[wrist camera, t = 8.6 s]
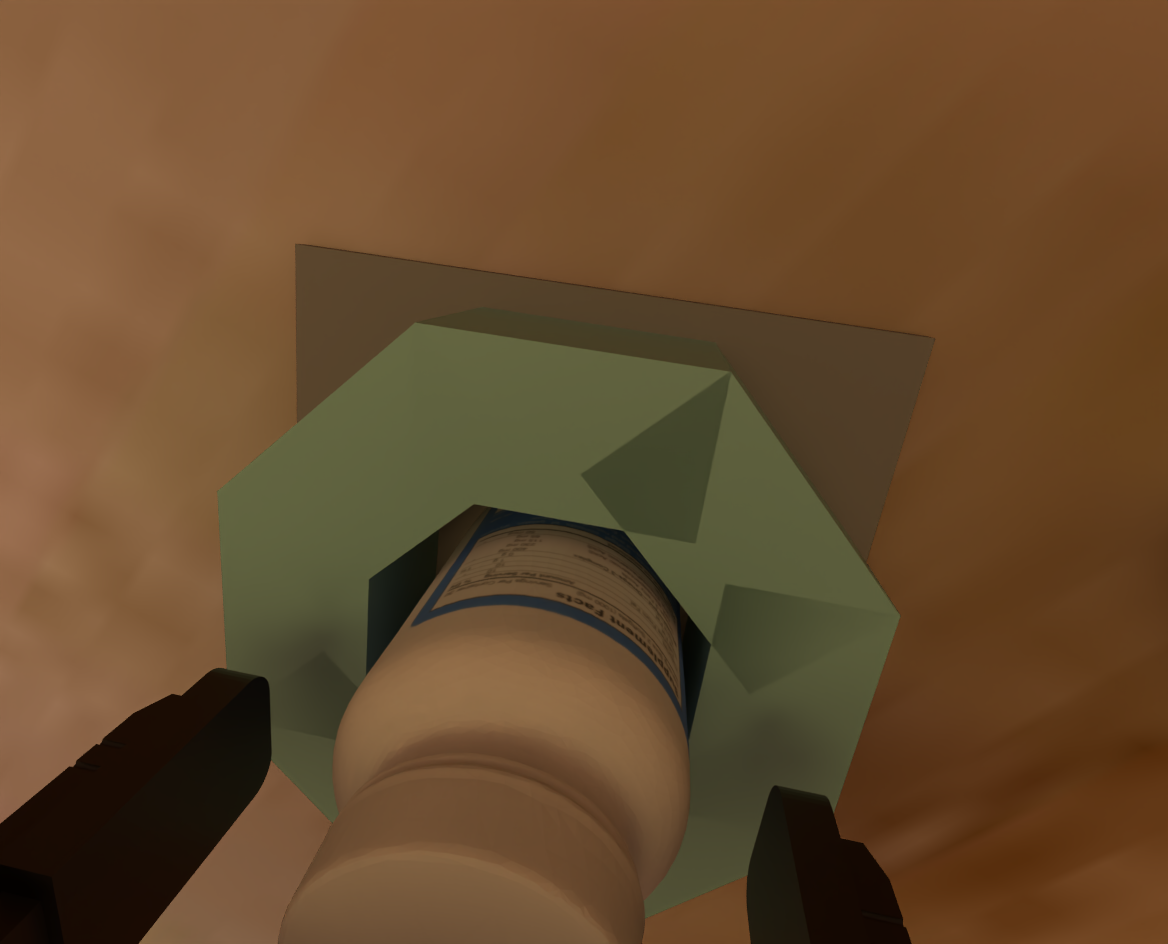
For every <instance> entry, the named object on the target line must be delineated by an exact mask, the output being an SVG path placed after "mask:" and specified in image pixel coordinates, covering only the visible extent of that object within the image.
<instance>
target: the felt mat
mask: <svg viewBox="0 0 1168 944" xmlns="http://www.w3.org/2000/svg"><path fill="white" fill-rule="evenodd" d="M295 260H296V360H297V423H298V422H299V421H300V420H302V419H303V418H304V417H305V416H306V415H307V414H309V413H310V412H311V411H312V410H313V409H314V408H316V407H317V406H318V405H319V404H320V403H322V402H323V401H324V400H325V399H326V398H327V397H329V396H330V395H331V394H332V393H333V392H334V391H336V390H337V389H338V388H339V387H340V386H341V385H343V384H344V383H345V382H346V381H347V380H348V379H350V378H351V377H352V376H353V375H354V374H356V373H357V372H358V371H359V370H360V369H361V368H363V367H364V366H365V365H366V364H367V363H368V362H370V361H371V360H372V359H373V358H374V357H375V356H377V355H378V354H379V353H380V352H381V351H382V350H384V349H385V348H386V347H387V346H388V345H390V344H391V343H392V342H393V341H394V340H395V339H397V338H398V337H399V336H400V335H401V334H402V333H404V332H405V331H406V330H407V329H408V328H409V327H411V326H412V325H413V324H414V323H415V322H419V321H423V320H428V319H432V318H436V317H441V316H445V315H450V314H454V313H458V312H463V311H467V310H471V309H476V308H480V307H486V308H492V309H499V310H505V311H512V312H518V313H525V314H531V315H538V316H545V317H551V318H558V319H564V320H571V321H577V322H584V323H591V324H597V325H604V326H610V327H617V328H623V329H630V330H636V331H643V332H650V333H656V334H663V335H669V336H676V337H682V338H689V339H695V340H702V341H709V342H715V343H716V344H717V346H718V347H719V349H720V350H721V352H722V353H723V355H724V356H725V357H726V359H727V360H728V362H729V363H730V365H731V366H732V368H733V369H734V370H735V372H736V373H737V375H738V376H739V378H740V379H741V381H742V382H743V383H744V385H745V386H746V388H747V389H748V391H749V392H750V394H751V395H752V396H753V398H754V399H755V401H756V402H757V404H758V405H759V407H760V408H761V409H762V411H763V412H764V414H765V415H766V417H767V418H768V420H769V421H770V422H771V424H772V425H773V427H774V428H775V430H776V431H777V433H778V434H779V435H780V437H781V438H782V440H783V441H784V443H785V444H786V446H787V447H788V448H789V450H790V451H791V453H792V454H793V456H794V457H795V459H796V460H797V461H798V463H799V464H800V466H801V467H802V469H803V470H804V472H805V473H806V474H807V476H808V477H809V479H810V480H811V482H812V483H813V485H814V486H815V487H816V489H817V490H818V492H819V493H820V495H821V496H822V498H823V499H824V500H825V502H826V503H827V505H828V506H829V508H830V509H831V511H832V512H833V513H834V515H835V516H836V518H837V519H838V521H839V522H840V524H841V525H842V526H843V527H844V529H845V531H846V532H847V534H848V535H849V537H850V538H851V540H852V541H853V543H854V544H855V546H856V548H857V549H858V551H859V552H860V554H861V555H862V557H863V558H864V560H865V561H867V558H868V555H869V551H870V548H871V545H872V542H873V538H874V535H875V532H876V529H877V526H878V522H879V519H880V516H881V513H882V509H883V506H884V503H885V500H886V496H887V493H888V490H889V487H890V484H891V480H892V477H893V474H894V471H895V467H896V464H897V461H898V458H899V454H900V451H901V448H902V445H903V441H904V438H905V435H906V432H907V429H908V425H909V422H910V419H911V416H912V412H913V409H914V406H915V403H916V399H917V396H918V393H919V390H920V386H921V383H922V380H923V377H924V374H925V370H926V367H927V364H928V361H929V357H930V354H931V351H932V348H933V344H934V341H935V338H931V337H928V336H921V335H914V334H907V333H901V332H894V331H887V330H880V329H873V328H867V327H860V326H853V325H846V324H840V323H833V322H826V321H819V320H813V319H806V318H799V317H792V316H785V315H779V314H772V313H765V312H758V311H752V310H745V309H738V308H731V307H725V306H718V305H711V304H704V303H697V302H691V301H684V300H677V299H670V298H664V297H657V296H650V295H643V294H637V293H630V292H623V291H616V290H609V289H603V288H596V287H589V286H582V285H576V284H569V283H562V282H555V281H548V280H542V279H535V278H528V277H521V276H515V275H508V274H501V273H494V272H488V271H481V270H474V269H467V268H460V267H454V266H447V265H440V264H433V263H427V262H420V261H413V260H406V259H400V258H393V257H386V256H379V255H372V254H366V253H359V252H352V251H345V250H339V249H332V248H325V247H318V246H312V245H304V244H295ZM487 508H488V507H487V506H482V505H476V504H473V505H472V506H471V507H469V508H468V509H466V510H465V511H464V512H462V513H461V514H459V515H458V516H457V517H455V518H454V519H452V520H451V521H450V522H448V523H447V524H445V525H444V526H443V527H441V528H440V529H439V537H438V551H437V566H436V576H437V575H438V574H439V572H440V571H441V569H442V567H443V566H444V565H445V564H446V562H447V561H448V559H449V558H450V556H451V555H452V553H453V552H454V550H455V549H456V547H457V546H458V545H459V543H460V541H461V540H462V539H463V538H464V536H465V535H466V533H467V532H468V531H469V529H470V528H471V527H472V525H473V524H474V523H475V521H476V520H477V519H478V517H479V516H480V515H481V514H482V513H483V512H484V511H485V510H486V509H487ZM687 618H688V614H687V612H686V611H685V610H684V608H683V607H682V606H681V605H680V621H681V640H682V641H683V636H684V632H685V627H686V622H687Z"/></svg>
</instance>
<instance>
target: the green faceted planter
mask: <svg viewBox="0 0 1168 944" xmlns="http://www.w3.org/2000/svg"><path fill="white" fill-rule="evenodd" d="M217 494H218V513H219V532H220V550H221V569H222V588H223V606H224V625H225V644H226V662H227V669H228V670H233V671H238V672H243V673H247V674H252V675H257V676H262V677H265V678H266V679H267V681H268V683H269V688H270V714H271V744H272V755H271V760H272V761H273V762H274V763H275V764H276V765H277V766H278V768H279V769H280V770H281V771H282V772H283V773H284V774H285V775H286V776H287V777H288V778H289V779H290V780H291V781H292V782H293V783H294V784H295V785H296V786H297V787H298V788H299V789H300V790H301V791H302V792H303V793H304V794H305V795H306V796H307V797H308V799H309V800H310V801H311V802H312V803H313V804H314V805H315V806H316V807H317V808H318V809H319V810H320V811H321V812H322V813H323V814H324V815H325V816H326V817H327V818H328V819H329V820H330V821H331V822H332V823H333V822H334V821H335V819H336V818H337V816H338V815H339V812H338V808H337V804H336V800H335V795H334V787H333V780H332V766H333V751H334V745H335V741H336V737H337V732H338V728H339V725H340V722H341V719H342V717H343V715H344V713H345V711H346V708H347V706H348V704H349V702H350V701H351V699H352V697H353V695H354V693H355V692H356V690H357V689H358V687H359V686H360V684H361V683H362V681H363V680H364V678H365V677H366V675H367V674H368V673H369V671H370V670H371V669H372V667H373V666H374V664H375V663H376V662H377V660H378V659H379V658H380V656H381V655H382V653H383V652H384V651H385V649H386V648H387V646H388V645H389V644H390V642H391V641H392V640H393V638H394V637H395V635H396V634H397V633H398V631H399V630H400V628H401V627H402V625H403V624H404V623H405V621H406V620H407V618H408V617H409V615H410V614H411V612H412V611H413V609H414V608H415V606H416V605H417V603H418V602H419V601H420V599H421V598H422V596H423V595H424V594H425V592H426V591H427V589H428V588H429V586H430V585H431V584H432V582H433V581H434V579H435V578H436V566H437V551H438V537H439V529H440V528H441V527H443V526H444V525H445V524H447V523H448V522H450V521H451V520H452V519H454V518H455V517H457V516H458V515H459V514H461V513H462V512H464V511H465V510H466V509H468V508H469V507H471V506H472V505H473V504H476V505H482V506H487V507H493V508H499V509H504V510H510V511H515V512H521V513H527V514H532V515H538V516H544V517H549V518H555V519H560V520H566V521H572V522H577V523H583V524H588V525H594V526H600V527H605V528H611V529H616V530H622V531H624V532H625V533H626V534H627V536H628V537H629V538H630V540H631V541H632V542H633V543H634V545H635V546H636V547H637V549H638V550H639V551H640V553H641V554H642V555H643V556H644V558H645V559H646V560H647V562H648V563H649V564H650V566H651V567H652V568H653V569H654V571H655V572H656V573H657V575H658V576H659V577H660V579H661V580H662V581H663V582H664V584H665V585H666V586H667V588H668V589H669V590H670V592H671V593H672V594H673V595H674V597H675V598H676V599H677V601H678V602H679V603H680V605H681V606H682V607H683V608H684V610H685V611H686V612H687V614H688V618H687V622H686V627H685V632H684V636H683V641H682V654H683V669H684V682H685V697H686V712H687V728H688V741H689V759H690V809H689V815H688V821H687V827H686V831H685V834H684V837H683V840H682V844H681V847H680V849H679V852H678V854H677V856H676V858H675V860H674V862H673V864H672V865H671V867H670V869H669V871H668V872H667V874H666V876H665V877H664V878H663V880H662V881H661V882H660V883H659V885H658V886H657V887H656V888H655V889H654V891H653V892H652V893H651V894H650V895H649V896H648V897H647V898H646V899H645V900H644V901H643V902H644V907H645V918H648V917H650V916H652V915H655V914H657V913H659V912H662V911H664V910H667V909H669V908H671V907H674V906H676V905H678V904H681V903H683V902H685V901H688V900H690V899H693V898H695V897H697V896H700V895H702V894H704V893H707V892H709V891H712V890H714V889H716V888H719V887H721V886H723V885H726V884H728V883H730V882H733V881H735V880H738V879H740V878H742V877H745V876H747V875H748V868H749V863H750V858H751V855H752V851H753V848H754V844H755V841H756V838H757V834H758V831H759V827H760V824H761V820H762V817H763V813H764V810H765V806H766V803H767V800H768V796H769V793H770V791H771V789H772V787H773V786H774V785H777V786H782V787H787V788H792V789H796V790H801V791H806V792H811V793H816V794H820V795H825V796H826V797H827V798H828V799H829V801H830V804H831V807H832V810H833V813H834V811H835V808H836V805H837V802H838V799H839V796H840V793H841V790H842V787H843V784H844V781H845V778H846V775H847V772H848V769H849V766H850V763H851V761H852V758H853V755H854V752H855V749H856V746H857V743H858V740H859V737H860V734H861V731H862V728H863V725H864V722H865V719H866V716H867V713H868V710H869V707H870V704H871V701H872V699H873V696H874V693H875V690H876V687H877V684H878V681H879V678H880V675H881V672H882V669H883V666H884V663H885V660H886V657H887V654H888V651H889V648H890V645H891V642H892V639H893V637H894V634H895V631H896V628H897V625H898V622H899V619H900V617H901V615H900V614H899V612H898V611H897V609H896V608H895V606H894V605H893V603H892V602H891V600H890V598H889V597H888V595H887V594H886V592H885V591H884V589H883V588H882V586H881V585H880V583H879V582H878V580H877V578H876V577H875V575H874V574H873V572H872V571H871V569H870V568H869V566H868V565H867V563H866V561H865V560H864V558H863V557H862V555H861V554H860V552H859V551H858V549H857V548H856V546H855V544H854V543H853V541H852V540H851V538H850V537H849V535H848V534H847V532H846V531H845V529H844V527H843V526H842V525H841V524H840V522H839V521H838V519H837V518H836V516H835V515H834V513H833V512H832V511H831V509H830V508H829V506H828V505H827V503H826V502H825V500H824V499H823V498H822V496H821V495H820V493H819V492H818V490H817V489H816V487H815V486H814V485H813V483H812V482H811V480H810V479H809V477H808V476H807V474H806V473H805V472H804V470H803V469H802V467H801V466H800V464H799V463H798V461H797V460H796V459H795V457H794V456H793V454H792V453H791V451H790V450H789V448H788V447H787V446H786V444H785V443H784V441H783V440H782V438H781V437H780V435H779V434H778V433H777V431H776V430H775V428H774V427H773V425H772V424H771V422H770V421H769V420H768V418H767V417H766V415H765V414H764V412H763V411H762V409H761V408H760V407H759V405H758V404H757V402H756V401H755V399H754V398H753V396H752V395H751V394H750V392H749V391H748V389H747V388H746V386H745V385H744V383H743V382H742V381H741V379H740V378H739V376H738V375H737V373H736V372H735V370H734V369H733V368H732V366H731V365H730V363H729V362H728V360H727V359H726V357H725V356H724V355H723V353H722V352H721V350H720V349H719V347H718V346H717V344H716V343H715V342H709V341H702V340H695V339H689V338H682V337H676V336H669V335H663V334H656V333H650V332H643V331H636V330H630V329H623V328H617V327H610V326H604V325H597V324H591V323H584V322H577V321H571V320H564V319H558V318H551V317H545V316H538V315H531V314H525V313H518V312H512V311H505V310H499V309H492V308H486V307H480V308H476V309H471V310H467V311H463V312H458V313H454V314H450V315H445V316H441V317H436V318H432V319H428V320H423V321H419V322H415V323H414V324H413V325H412V326H411V327H409V328H408V329H407V330H406V331H405V332H404V333H402V334H401V335H400V336H399V337H398V338H397V339H395V340H394V341H393V342H392V343H391V344H390V345H388V346H387V347H386V348H385V349H384V350H382V351H381V352H380V353H379V354H378V355H377V356H375V357H374V358H373V359H372V360H371V361H370V362H368V363H367V364H366V365H365V366H364V367H363V368H361V369H360V370H359V371H358V372H357V373H356V374H354V375H353V376H352V377H351V378H350V379H348V380H347V381H346V382H345V383H344V384H343V385H341V386H340V387H339V388H338V389H337V390H336V391H334V392H333V393H332V394H331V395H330V396H329V397H327V398H326V399H325V400H324V401H323V402H322V403H320V404H319V405H318V406H317V407H316V408H314V409H313V410H312V411H311V412H310V413H309V414H307V415H306V416H305V417H304V418H303V419H302V420H300V421H299V422H298V423H297V424H296V425H295V426H293V427H292V428H291V429H290V430H289V431H288V432H286V433H285V434H284V435H283V436H282V437H281V438H279V439H278V440H277V441H276V442H275V443H273V444H272V445H271V446H270V447H269V448H268V449H266V450H265V451H264V452H263V453H262V454H261V455H259V456H258V457H257V458H256V459H255V460H254V461H252V462H251V463H250V464H249V465H248V466H247V467H245V468H244V469H243V470H242V471H241V472H239V473H238V474H237V475H236V476H235V477H234V478H232V479H231V480H230V481H229V482H228V483H227V484H225V485H224V486H223V487H222V488H221V489H220V490H218V491H217Z"/></svg>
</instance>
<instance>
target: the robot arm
mask: <svg viewBox="0 0 1168 944" xmlns="http://www.w3.org/2000/svg"><path fill="white" fill-rule="evenodd" d="M271 755H272V744H271V714H270V688H269V683H268V681H267V679H266V678H265V677H262V676H257V675H252V674H247V673H243V672H238V671H233V670H228V669H223V668H216V669H213V670H211V671H210V672H208V673H207V674H206V675H205V676H204V677H202V678H201V679H200V680H199V681H198V682H197V683H196V684H194V685H193V686H192V687H191V688H190V689H189V690H188V691H186V692H185V693H184V694H183V695H182V696H180V695H175V694H171V695H169V696H167V697H165V698H163V699H161V700H159V701H157V702H155V703H153V704H151V705H149V706H147V707H145V708H143V709H141V710H139V711H137V712H135V713H133V714H132V715H131V716H130V717H128V718H127V719H126V720H125V721H124V722H122V723H121V724H120V725H119V726H118V727H116V728H115V729H114V730H113V731H112V732H110V733H109V734H108V735H107V736H106V737H104V738H103V740H102V743H101V744H100V745H98V744H96V745H95V746H93V747H92V748H91V749H90V750H89V751H87V752H86V753H85V754H84V755H83V756H81V757H80V758H79V759H78V760H77V761H76V764H75V765H74V767H70V766H69V767H68V768H67V769H66V770H65V771H63V772H62V773H61V774H60V775H59V776H57V777H56V778H55V779H54V780H52V781H51V782H50V783H49V784H48V785H46V786H45V787H44V788H43V789H42V790H40V791H39V792H38V793H37V794H36V795H34V796H33V797H32V798H31V799H30V800H28V801H27V802H26V803H25V804H24V805H22V806H21V807H20V808H19V809H18V810H16V811H15V812H14V813H13V814H11V815H10V816H9V817H8V818H7V819H5V820H4V821H3V822H2V823H1V824H0V944H139V942H140V941H141V940H142V938H143V937H144V936H145V935H146V933H147V932H148V931H149V930H150V928H151V927H152V926H153V925H154V923H155V922H156V921H157V919H158V918H159V917H160V916H161V914H162V913H163V912H164V911H165V909H166V908H167V907H168V906H169V904H170V903H171V902H172V900H173V899H174V898H175V897H176V895H177V894H178V893H179V892H180V890H181V889H182V888H183V887H184V885H185V884H186V883H187V882H188V880H189V879H190V878H191V876H192V875H193V874H194V873H195V871H196V870H197V869H198V868H199V866H200V865H201V864H202V863H203V861H204V860H205V859H206V857H207V856H208V855H209V854H210V852H211V851H212V850H213V849H214V847H215V846H216V845H217V844H218V842H219V841H220V840H221V839H222V837H223V836H224V835H225V833H226V832H227V831H228V830H229V828H230V827H231V826H232V825H233V823H234V822H235V821H236V820H237V818H238V817H239V816H240V814H241V813H242V812H243V811H244V809H245V808H246V807H247V806H248V804H249V803H250V802H251V801H252V799H253V798H254V797H255V795H256V794H257V793H258V791H259V789H260V788H261V786H262V784H263V782H264V780H265V777H266V775H267V772H268V769H269V766H270V761H271ZM747 912H748V921H749V931H750V940H751V944H912V943H911V940H910V938H909V935H908V932H907V929H906V927H903V917H902V914H901V912H900V909H899V906H898V903H897V900H896V897H895V894H894V891H893V888H892V885H891V883H890V880H889V878H888V877H887V875H886V874H885V873H884V871H883V870H882V869H881V867H880V866H879V864H878V863H877V862H876V860H875V859H874V858H873V856H872V855H871V853H870V852H869V851H868V849H867V848H866V847H865V845H864V844H863V843H860V842H855V841H850V840H846V839H841V838H840V834H839V831H838V827H837V824H836V820H835V817H834V813H833V810H832V807H831V804H830V801H829V799H828V798H827V797H826V796H825V795H820V794H816V793H811V792H806V791H801V790H796V789H792V788H787V787H782V786H777V785H774V786H773V787H772V789H771V791H770V793H769V796H768V800H767V803H766V806H765V810H764V813H763V817H762V820H761V824H760V827H759V831H758V834H757V838H756V841H755V844H754V848H753V851H752V855H751V858H750V863H749V868H748V877H747Z"/></svg>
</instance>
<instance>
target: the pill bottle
mask: <svg viewBox="0 0 1168 944" xmlns="http://www.w3.org/2000/svg"><path fill="white" fill-rule="evenodd" d="M332 780H333V787H334V795H335V800H336V804H337V808H338V812H339V815H338V816H337V818H336V819H335V821H334V822H333V823H332V825H331V826H330V828H329V830H328V833H327V835H326V837H325V839H324V841H323V843H322V845H321V846H320V848H319V850H318V852H317V854H316V856H315V857H314V859H313V861H312V863H311V865H310V867H309V868H308V870H307V872H306V874H305V876H304V878H303V879H302V881H301V883H300V885H299V887H298V889H297V890H296V892H295V894H294V896H293V898H292V900H291V901H290V903H289V905H288V907H287V909H286V912H285V915H284V918H283V921H282V924H281V929H280V933H279V938H278V944H642V938H643V933H644V925H645V907H644V902H643V901H644V900H645V899H646V898H647V897H648V896H649V895H650V894H651V893H652V892H653V891H654V889H655V888H656V887H657V886H658V885H659V883H660V882H661V881H662V880H663V878H664V877H665V876H666V874H667V872H668V871H669V869H670V867H671V865H672V864H673V862H674V860H675V858H676V856H677V854H678V852H679V849H680V847H681V844H682V840H683V837H684V834H685V831H686V827H687V821H688V815H689V809H690V759H689V741H688V728H687V712H686V697H685V682H684V669H683V654H682V640H681V621H680V603H679V602H678V601H677V599H676V598H675V597H674V595H673V594H672V593H671V592H670V590H669V589H668V588H667V586H666V585H665V584H664V582H663V581H662V580H661V579H660V577H659V576H658V575H657V573H656V572H655V571H654V569H653V568H652V567H651V566H650V564H649V563H648V562H647V560H646V559H645V558H644V556H643V555H642V554H641V553H640V551H639V550H638V549H637V547H636V546H635V545H634V543H633V542H632V541H631V540H630V538H629V537H628V536H627V534H626V533H625V532H624V531H622V530H616V529H611V528H605V527H600V526H594V525H588V524H583V523H577V522H572V521H566V520H560V519H555V518H549V517H544V516H538V515H532V514H527V513H521V512H515V511H510V510H504V509H499V508H493V507H488V508H487V509H486V510H485V511H484V512H483V513H482V514H481V515H480V516H479V517H478V519H477V520H476V521H475V523H474V524H473V525H472V527H471V528H470V529H469V531H468V532H467V533H466V535H465V536H464V538H463V539H462V540H461V541H460V543H459V545H458V546H457V547H456V549H455V550H454V552H453V553H452V555H451V556H450V558H449V559H448V561H447V562H446V564H445V565H444V566H443V567H442V569H441V571H440V572H439V574H438V575H437V576H436V578H435V579H434V581H433V582H432V584H431V585H430V586H429V588H428V589H427V591H426V592H425V594H424V595H423V596H422V598H421V599H420V601H419V602H418V603H417V605H416V606H415V608H414V609H413V611H412V612H411V614H410V615H409V617H408V618H407V620H406V621H405V623H404V624H403V625H402V627H401V628H400V630H399V631H398V633H397V634H396V635H395V637H394V638H393V640H392V641H391V642H390V644H389V645H388V646H387V648H386V649H385V651H384V652H383V653H382V655H381V656H380V658H379V659H378V660H377V662H376V663H375V664H374V666H373V667H372V669H371V670H370V671H369V673H368V674H367V675H366V677H365V678H364V680H363V681H362V683H361V684H360V686H359V687H358V689H357V690H356V692H355V693H354V695H353V697H352V699H351V701H350V702H349V704H348V706H347V708H346V711H345V713H344V715H343V717H342V719H341V722H340V725H339V728H338V732H337V737H336V741H335V745H334V751H333V766H332Z"/></svg>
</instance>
